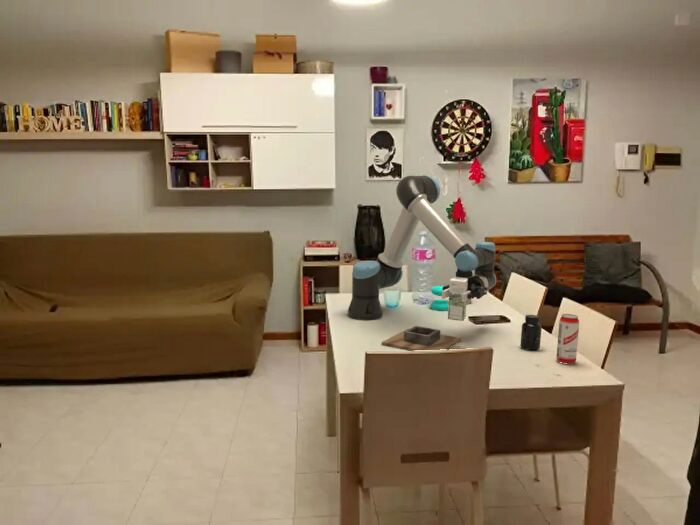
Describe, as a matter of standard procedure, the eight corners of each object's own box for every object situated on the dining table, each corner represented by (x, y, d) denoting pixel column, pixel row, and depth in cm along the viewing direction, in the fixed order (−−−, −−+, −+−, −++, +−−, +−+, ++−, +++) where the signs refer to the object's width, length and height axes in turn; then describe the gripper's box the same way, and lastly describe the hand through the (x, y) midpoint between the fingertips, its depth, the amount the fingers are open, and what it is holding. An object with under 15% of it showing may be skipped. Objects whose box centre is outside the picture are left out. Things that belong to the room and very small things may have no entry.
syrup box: (465, 317, 201) (468, 277, 198) (463, 321, 195) (466, 281, 193) (450, 315, 203) (452, 276, 200) (447, 319, 197) (449, 279, 195)
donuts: (457, 288, 256) (442, 290, 250) (456, 309, 258) (441, 312, 252) (441, 284, 264) (426, 286, 258) (440, 305, 265) (425, 307, 259)
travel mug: (468, 305, 265) (470, 268, 262) (452, 303, 269) (454, 266, 266) (472, 302, 272) (474, 265, 270) (456, 300, 276) (458, 264, 273)
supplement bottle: (541, 351, 198) (543, 319, 196) (521, 350, 200) (523, 317, 198) (538, 346, 205) (541, 314, 203) (519, 344, 206) (521, 313, 204)
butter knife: (557, 376, 174) (564, 375, 175) (507, 353, 196) (514, 352, 197) (557, 378, 174) (564, 376, 175) (507, 354, 196) (514, 353, 197)
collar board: (381, 344, 203) (381, 332, 202) (408, 330, 221) (408, 319, 221) (437, 356, 191) (438, 343, 191) (461, 340, 210) (461, 329, 209)
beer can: (552, 358, 191) (556, 313, 188) (570, 358, 192) (574, 313, 189) (561, 365, 185) (565, 318, 182) (579, 364, 185) (583, 318, 183)
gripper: (500, 298, 208) (479, 311, 189) (450, 291, 218) (426, 302, 199) (501, 279, 207) (480, 289, 188) (451, 272, 217) (427, 282, 198)
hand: (452, 296), depth 193 cm, fingers closed on syrup box, 7 cm apart
